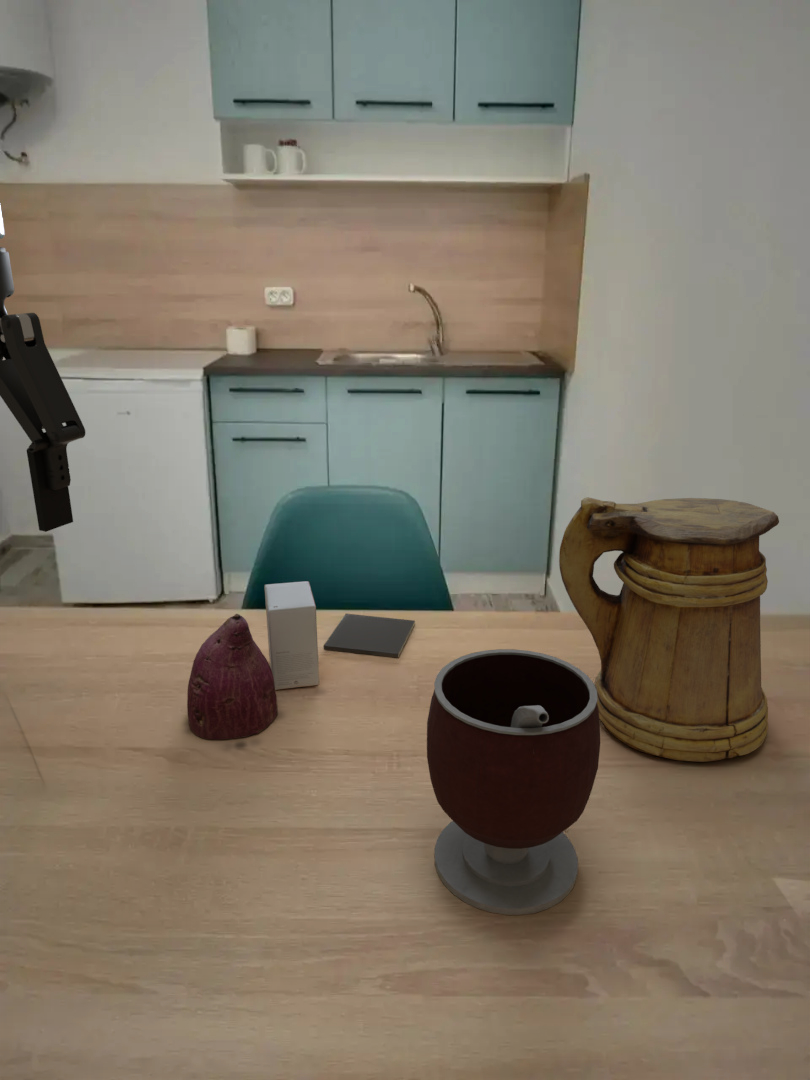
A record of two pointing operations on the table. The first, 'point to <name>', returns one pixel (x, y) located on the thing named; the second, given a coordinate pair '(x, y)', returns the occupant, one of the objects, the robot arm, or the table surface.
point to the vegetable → (230, 685)
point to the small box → (292, 634)
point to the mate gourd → (511, 775)
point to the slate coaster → (370, 635)
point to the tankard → (675, 622)
